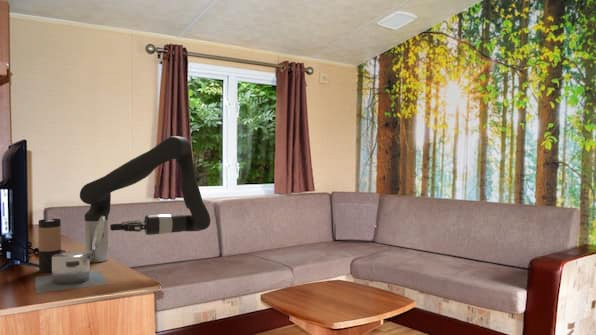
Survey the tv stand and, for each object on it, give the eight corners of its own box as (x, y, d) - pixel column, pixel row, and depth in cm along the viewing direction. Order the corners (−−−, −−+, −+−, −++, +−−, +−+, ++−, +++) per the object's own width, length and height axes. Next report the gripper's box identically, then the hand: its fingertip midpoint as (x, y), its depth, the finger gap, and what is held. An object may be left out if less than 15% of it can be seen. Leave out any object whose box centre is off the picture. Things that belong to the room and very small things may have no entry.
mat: (35, 278, 170) (35, 277, 170) (100, 271, 181) (100, 270, 181) (35, 294, 151) (35, 292, 151) (108, 285, 162) (108, 284, 162)
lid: (98, 213, 176) (105, 214, 177) (87, 250, 175) (94, 251, 176) (103, 217, 165) (110, 219, 166) (92, 257, 163) (99, 258, 165)
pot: (51, 277, 170) (50, 252, 170) (89, 273, 177) (89, 249, 177) (53, 288, 156) (52, 261, 156) (94, 283, 163) (94, 257, 162)
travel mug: (51, 275, 175) (51, 221, 175) (33, 273, 177) (33, 221, 176) (65, 270, 183) (65, 219, 182) (48, 269, 184) (48, 218, 184)
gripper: (154, 212, 187) (107, 215, 178) (162, 216, 175) (113, 219, 167) (154, 231, 187) (107, 234, 178) (162, 236, 175) (113, 240, 167)
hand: (110, 227), depth 172 cm, fingers closed
